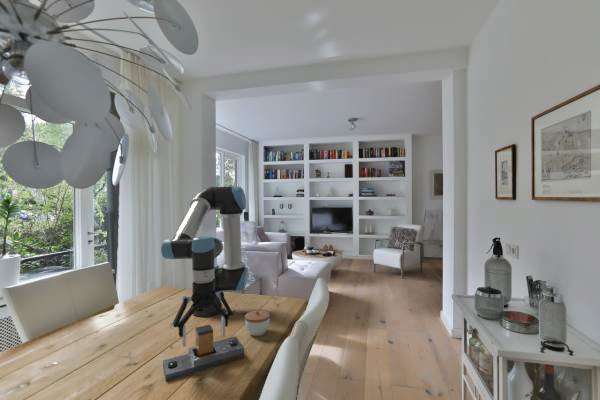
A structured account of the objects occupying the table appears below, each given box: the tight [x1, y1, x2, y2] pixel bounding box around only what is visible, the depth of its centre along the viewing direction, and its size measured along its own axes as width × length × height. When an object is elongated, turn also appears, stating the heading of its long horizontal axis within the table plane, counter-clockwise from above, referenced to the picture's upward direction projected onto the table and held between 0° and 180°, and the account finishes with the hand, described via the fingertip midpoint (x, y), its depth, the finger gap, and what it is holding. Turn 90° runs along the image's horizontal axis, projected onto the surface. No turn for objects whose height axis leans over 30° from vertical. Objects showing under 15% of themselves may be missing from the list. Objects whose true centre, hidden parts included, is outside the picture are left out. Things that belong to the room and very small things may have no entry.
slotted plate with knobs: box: [162, 336, 245, 382], centre depth 105 cm, size 10×26×5 cm, turn 120°
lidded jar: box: [244, 310, 271, 337], centre depth 127 cm, size 11×11×9 cm
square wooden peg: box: [195, 324, 214, 358], centre depth 105 cm, size 5×5×12 cm
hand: (204, 340), depth 105 cm, fingers open, 13 cm apart
